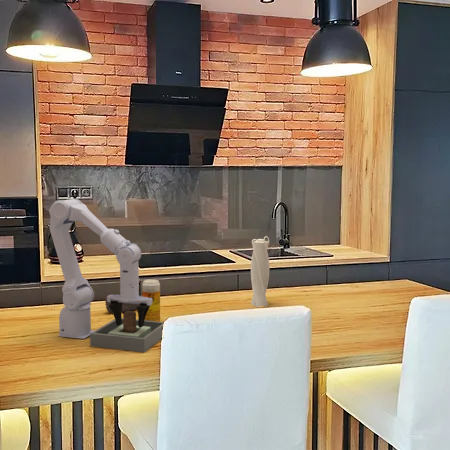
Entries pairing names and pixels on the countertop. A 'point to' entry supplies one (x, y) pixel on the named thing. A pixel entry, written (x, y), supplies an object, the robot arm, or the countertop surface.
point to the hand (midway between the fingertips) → (129, 325)
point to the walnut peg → (129, 322)
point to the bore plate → (139, 333)
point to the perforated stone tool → (125, 306)
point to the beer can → (152, 291)
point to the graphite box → (126, 337)
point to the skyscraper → (259, 271)
